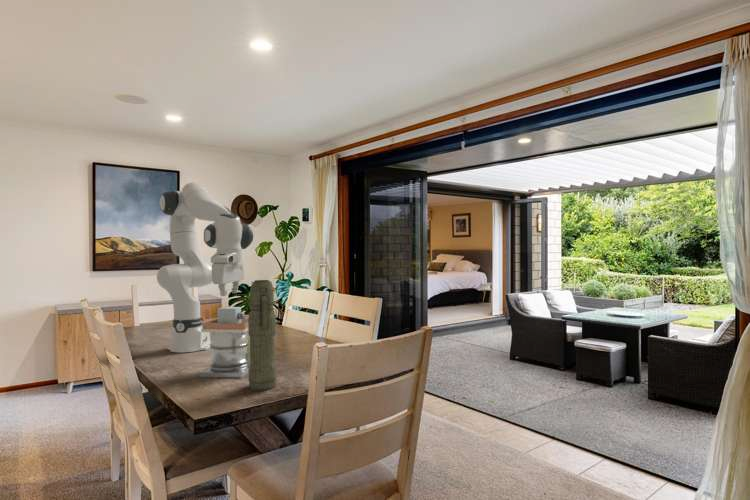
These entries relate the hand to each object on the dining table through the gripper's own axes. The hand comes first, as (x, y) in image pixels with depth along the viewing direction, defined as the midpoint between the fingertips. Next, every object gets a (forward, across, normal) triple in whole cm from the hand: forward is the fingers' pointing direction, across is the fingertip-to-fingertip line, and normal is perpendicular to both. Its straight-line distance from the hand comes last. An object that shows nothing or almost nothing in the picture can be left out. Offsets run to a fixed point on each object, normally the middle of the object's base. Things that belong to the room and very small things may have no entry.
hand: (229, 294), depth 166 cm
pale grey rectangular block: (+12, 0, 0) cm, 12 cm away
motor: (+29, 0, 0) cm, 29 cm away
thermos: (+28, +17, +19) cm, 38 cm away
